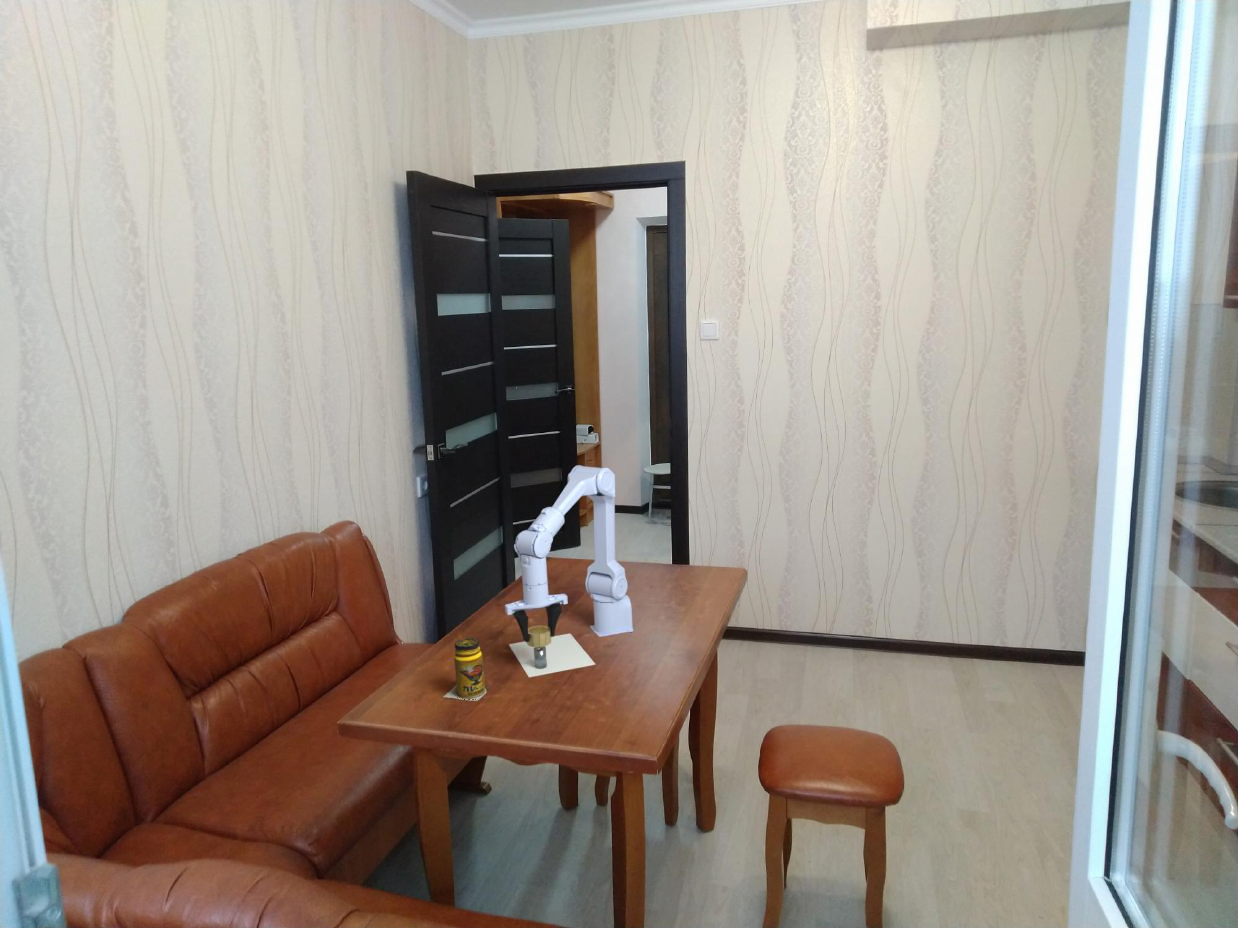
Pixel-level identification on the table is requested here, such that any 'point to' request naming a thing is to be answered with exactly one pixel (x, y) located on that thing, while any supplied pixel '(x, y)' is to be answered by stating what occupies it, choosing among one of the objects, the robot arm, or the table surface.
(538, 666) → the piston
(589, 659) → the mat
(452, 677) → the table surface
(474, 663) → the condiment
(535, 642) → the ring
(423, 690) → the table surface
